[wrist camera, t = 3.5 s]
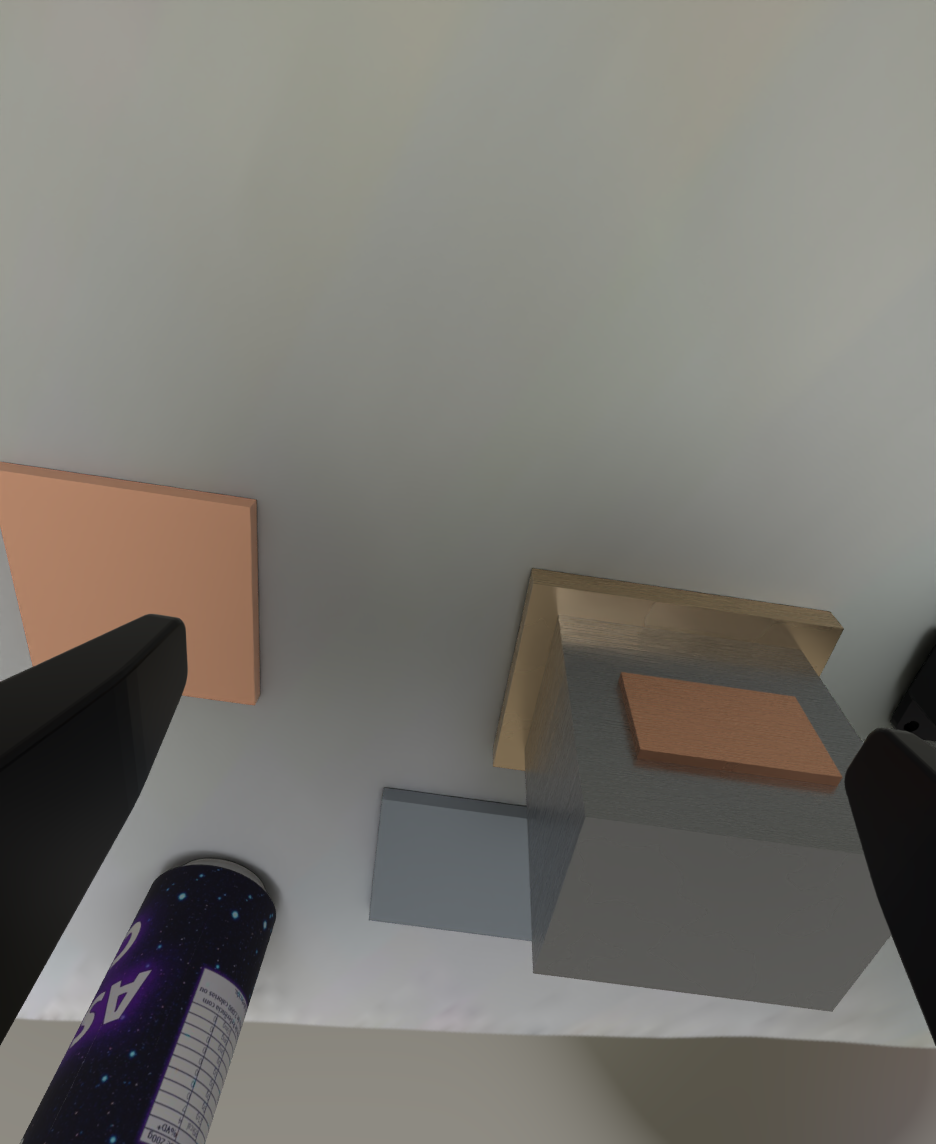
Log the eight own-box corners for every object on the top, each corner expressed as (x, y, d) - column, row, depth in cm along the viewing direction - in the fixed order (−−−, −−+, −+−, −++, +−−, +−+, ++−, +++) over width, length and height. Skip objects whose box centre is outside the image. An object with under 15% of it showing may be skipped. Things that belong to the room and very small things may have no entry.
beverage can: (198, 828, 29) (24, 1189, 18) (305, 888, 30) (202, 1249, 20) (137, 887, 31) (-50, 1239, 20) (240, 940, 33) (116, 1289, 22)
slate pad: (578, 813, 27) (579, 825, 27) (540, 929, 31) (541, 942, 31) (384, 787, 27) (382, 799, 26) (370, 907, 31) (368, 919, 30)
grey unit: (830, 611, 22) (1013, 841, 14) (746, 782, 26) (852, 1036, 18) (532, 568, 22) (549, 777, 14) (493, 747, 26) (489, 989, 18)
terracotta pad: (256, 499, 21) (249, 507, 20) (260, 695, 25) (254, 705, 24) (0, 461, 21) (-13, 468, 20) (44, 665, 25) (34, 675, 24)
